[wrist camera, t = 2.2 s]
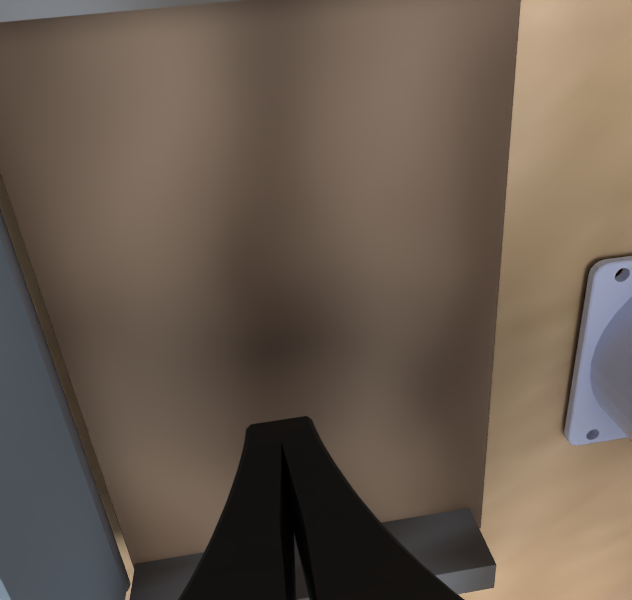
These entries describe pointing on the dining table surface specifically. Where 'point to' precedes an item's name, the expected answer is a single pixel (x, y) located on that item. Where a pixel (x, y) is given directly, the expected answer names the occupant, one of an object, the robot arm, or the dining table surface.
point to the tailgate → (45, 469)
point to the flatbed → (269, 248)
